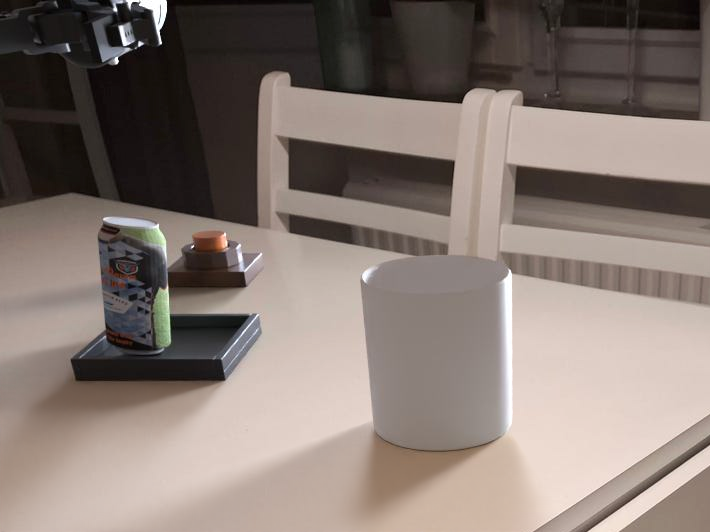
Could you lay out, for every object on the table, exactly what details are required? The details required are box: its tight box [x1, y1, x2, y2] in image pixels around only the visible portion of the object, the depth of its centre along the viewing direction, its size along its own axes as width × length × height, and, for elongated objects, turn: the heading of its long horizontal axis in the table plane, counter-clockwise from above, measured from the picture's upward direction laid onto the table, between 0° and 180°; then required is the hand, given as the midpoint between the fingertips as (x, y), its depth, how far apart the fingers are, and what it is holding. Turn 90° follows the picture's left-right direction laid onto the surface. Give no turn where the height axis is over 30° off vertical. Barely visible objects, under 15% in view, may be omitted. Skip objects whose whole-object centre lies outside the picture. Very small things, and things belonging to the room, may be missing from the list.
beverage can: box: [97, 216, 171, 355], centre depth 96 cm, size 6×7×12 cm
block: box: [167, 239, 265, 288], centre depth 124 cm, size 10×9×4 cm
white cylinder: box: [359, 254, 513, 452], centre depth 81 cm, size 12×12×12 cm
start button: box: [191, 230, 228, 251], centre depth 122 cm, size 4×4×2 cm
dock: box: [70, 313, 263, 381], centre depth 100 cm, size 15×15×2 cm
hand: (11, 49), depth 82 cm, fingers open, 13 cm apart
